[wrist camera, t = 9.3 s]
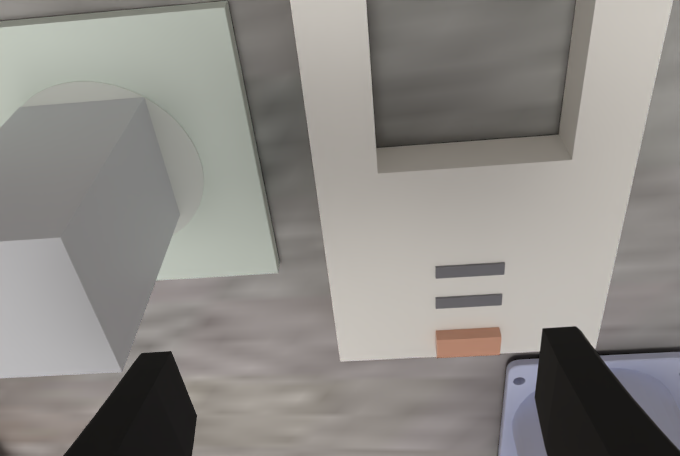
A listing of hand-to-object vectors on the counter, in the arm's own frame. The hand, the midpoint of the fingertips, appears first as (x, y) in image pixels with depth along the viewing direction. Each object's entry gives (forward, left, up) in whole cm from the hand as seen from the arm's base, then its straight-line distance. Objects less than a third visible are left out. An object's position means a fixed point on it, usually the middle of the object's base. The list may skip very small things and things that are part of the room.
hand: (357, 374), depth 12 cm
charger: (0, +8, -10) cm, 13 cm away
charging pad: (-1, +8, -10) cm, 13 cm away
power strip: (-1, -4, -10) cm, 11 cm away
